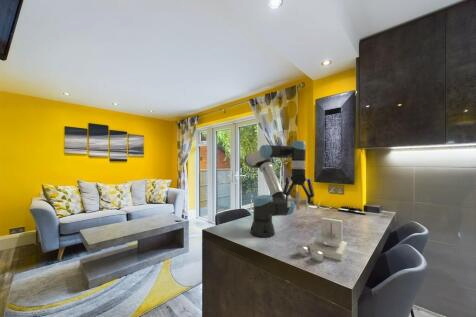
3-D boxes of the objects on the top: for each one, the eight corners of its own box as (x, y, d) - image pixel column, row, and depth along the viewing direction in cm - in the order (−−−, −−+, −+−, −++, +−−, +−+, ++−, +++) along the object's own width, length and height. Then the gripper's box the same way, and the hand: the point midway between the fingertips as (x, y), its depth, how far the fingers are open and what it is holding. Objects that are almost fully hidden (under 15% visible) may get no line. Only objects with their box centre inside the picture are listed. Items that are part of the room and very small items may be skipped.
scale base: (309, 252, 99) (310, 223, 99) (319, 241, 113) (319, 216, 114) (341, 260, 90) (341, 229, 91) (347, 247, 105) (347, 220, 105)
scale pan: (314, 241, 99) (314, 239, 100) (319, 235, 108) (319, 233, 108) (338, 247, 93) (338, 245, 93) (342, 240, 102) (342, 238, 102)
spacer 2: (310, 260, 90) (310, 251, 90) (313, 256, 94) (313, 248, 94) (321, 264, 87) (321, 254, 87) (324, 259, 91) (324, 251, 91)
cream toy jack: (308, 212, 106) (308, 193, 106) (289, 211, 108) (289, 192, 108) (306, 208, 116) (306, 190, 116) (288, 207, 118) (288, 190, 118)
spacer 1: (295, 255, 95) (295, 247, 95) (299, 252, 99) (299, 243, 99) (306, 258, 92) (306, 249, 92) (309, 254, 96) (309, 246, 96)
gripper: (277, 167, 116) (276, 206, 116) (317, 169, 103) (317, 212, 102) (282, 167, 122) (281, 204, 122) (321, 169, 109) (320, 210, 109)
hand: (297, 208), depth 112 cm, fingers closed on cream toy jack, 10 cm apart
